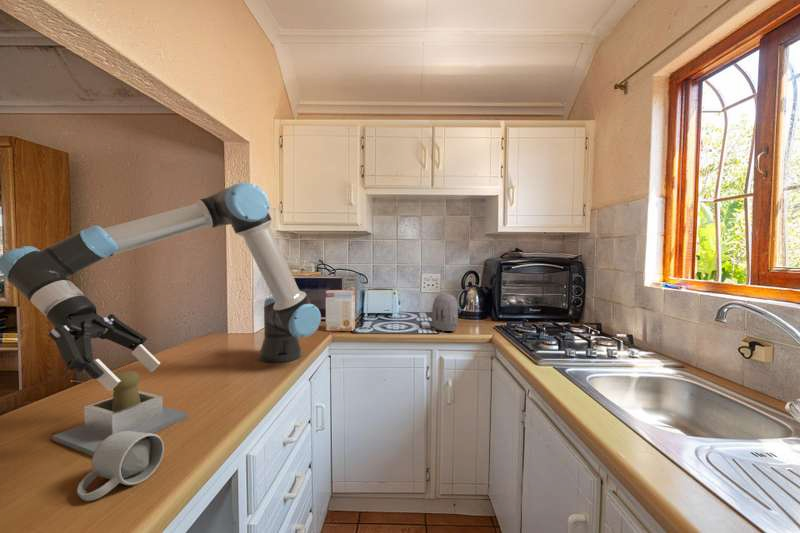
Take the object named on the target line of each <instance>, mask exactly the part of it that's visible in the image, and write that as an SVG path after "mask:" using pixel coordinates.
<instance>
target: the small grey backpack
mask: <svg viewBox="0 0 800 533" xmlns="http://www.w3.org/2000/svg"><path fill="white" fill-rule="evenodd" d="M458 311H459V306H458V299H457V298H456V297H455V296H454V295H453V294H450V293H448V292H442V293H439V294H438V295H437V296H436V297H435V298H434V301H433V304H432V310H431V321H432V324H433V328H434V329H435V330H437V329H438V331H440V330H441V331H440V332H444V331H452V332H456V329H457V326H458V322H459V321H458V320H459V318H458V317H459V312H458Z"/></svg>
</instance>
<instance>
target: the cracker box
mask: <svg viewBox="0 0 800 533" xmlns="http://www.w3.org/2000/svg"><path fill="white" fill-rule="evenodd" d="M355 292H356V291H355V290H353V289H352V290H347V289H328V290H325V331H326V330H333V331H353V330H354V329H356V309H355V308H356V294H355ZM354 331H355V330H354ZM354 331H353V332H354Z"/></svg>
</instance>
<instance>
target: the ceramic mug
mask: <svg viewBox="0 0 800 533" xmlns="http://www.w3.org/2000/svg"><path fill="white" fill-rule="evenodd" d="M164 452H165V445H164V440H162V438H161V436H159V435H158V434H156V433H142V432H133V431H123V432H117V433H114V434H112V435H110V436H108V437H107V438H105V439H104V440H103V441H102V442H101V443H100V444H99V445H98V447H97V448H96V450H95V452H94V454H93V456H91V457H92V458H91V467H92V470H90V472H88V473H87V475H86V476H85V477H84V478H83V479H82V480H81V481H80V482H79V484H78V486H77V489H76V493H77V495H78V497H79V498H80V499H81V500H82V501H85V502H92V501H95V500H98V499H100V498H102V497H103V496H105V495H106V494H108V493H110V492H111V491H112V490H113V489H114V488H115V487H116V486H117V487H118V485H119V484H123V485H125V486H134V485H138V484H140V483H142V482H144V481H145V480H147V479H148V478H150V477H151V476H152V475H153V474H154V473H155V472H156V470H157V469H158V467H159V466H160V464H161V462H162V460H163V457H164V456H163V455H164ZM98 476H99V477H102V478H105V479H107V480H108V479H109V480H108V481H107V482H105V483H104V484H102V485H101V486H100V487H98V488H96V489H94V490H93V491H91V492H88V491H87V490H86V489H87V488H88V487H89V486H90V484H91V483H92V482H93V481H94V480H95V479H96V478H97V477H98Z"/></svg>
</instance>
